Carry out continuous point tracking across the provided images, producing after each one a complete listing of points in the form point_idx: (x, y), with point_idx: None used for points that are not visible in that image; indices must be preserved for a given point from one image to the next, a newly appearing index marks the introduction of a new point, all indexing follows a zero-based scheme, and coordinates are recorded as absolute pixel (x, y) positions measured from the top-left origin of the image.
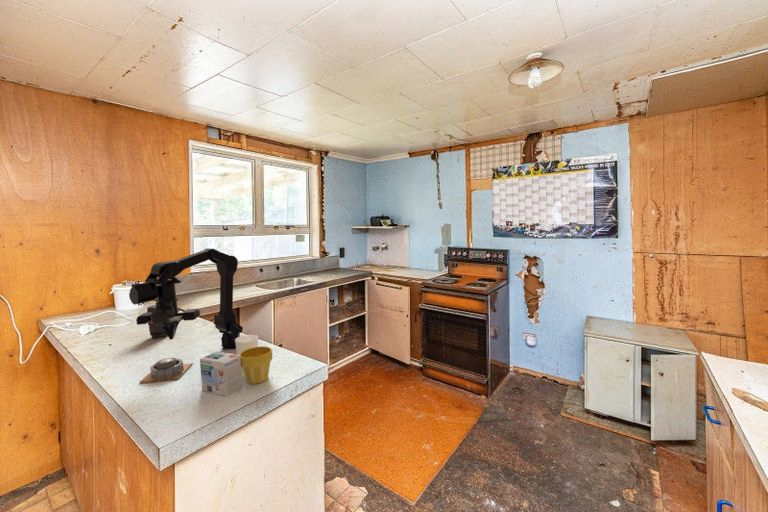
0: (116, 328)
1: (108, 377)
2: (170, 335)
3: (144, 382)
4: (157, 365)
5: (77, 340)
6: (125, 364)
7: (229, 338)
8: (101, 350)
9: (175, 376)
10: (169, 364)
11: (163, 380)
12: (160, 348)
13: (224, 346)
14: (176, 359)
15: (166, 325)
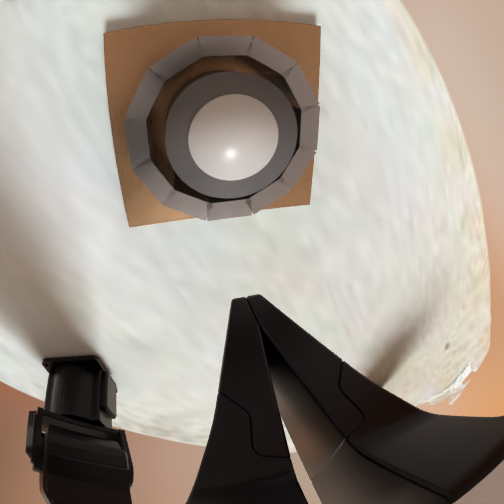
0: (433, 392)
1: (448, 147)
2: (258, 329)
3: (294, 23)
4: (270, 83)
5: (478, 347)
6: (423, 248)
7: (64, 398)
8: (461, 322)
9: (132, 52)
10: (184, 90)
11: (191, 22)
12: (348, 353)
13: (95, 371)
14: (199, 208)
15: (364, 467)
